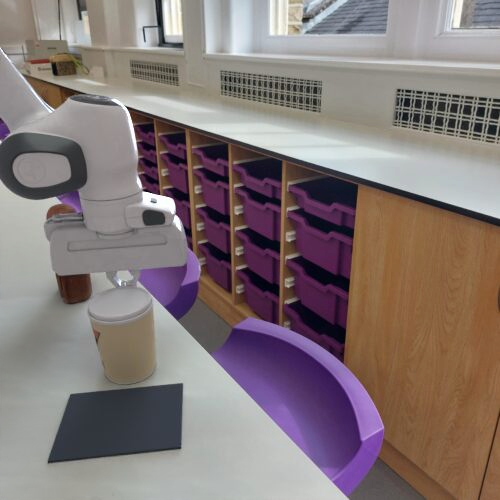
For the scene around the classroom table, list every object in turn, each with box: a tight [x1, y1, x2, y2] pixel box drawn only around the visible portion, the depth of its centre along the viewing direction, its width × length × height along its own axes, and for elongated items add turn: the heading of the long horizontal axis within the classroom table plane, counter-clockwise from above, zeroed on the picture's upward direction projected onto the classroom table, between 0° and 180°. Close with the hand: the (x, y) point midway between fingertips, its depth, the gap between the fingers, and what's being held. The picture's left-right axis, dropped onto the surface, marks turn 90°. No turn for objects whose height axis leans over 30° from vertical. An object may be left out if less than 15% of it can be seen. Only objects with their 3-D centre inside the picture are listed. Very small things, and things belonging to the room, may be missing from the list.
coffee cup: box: [86, 286, 157, 385], centre depth 72 cm, size 9×9×12 cm
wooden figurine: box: [45, 202, 93, 304], centre depth 94 cm, size 12×6×18 cm, turn 25°
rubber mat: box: [47, 382, 184, 464], centre depth 65 cm, size 16×12×1 cm
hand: (127, 293), depth 77 cm, fingers closed
